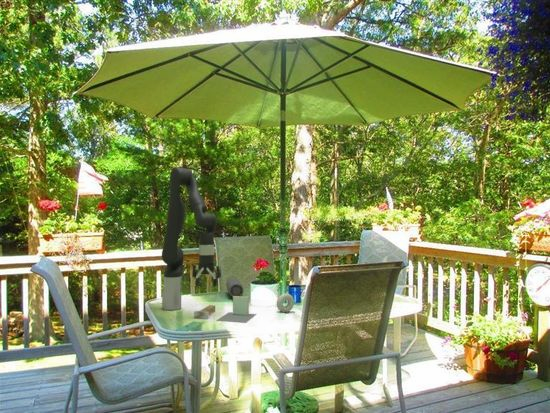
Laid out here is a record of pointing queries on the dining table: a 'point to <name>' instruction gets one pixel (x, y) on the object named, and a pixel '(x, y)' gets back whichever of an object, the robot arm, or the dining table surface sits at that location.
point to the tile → (240, 305)
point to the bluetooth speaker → (234, 287)
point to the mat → (236, 318)
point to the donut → (281, 300)
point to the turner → (204, 312)
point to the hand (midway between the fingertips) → (206, 286)
